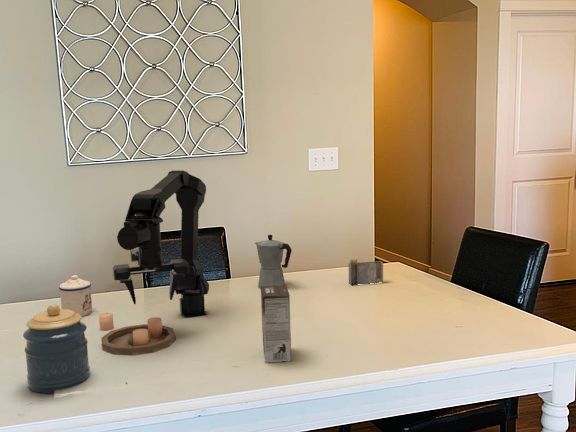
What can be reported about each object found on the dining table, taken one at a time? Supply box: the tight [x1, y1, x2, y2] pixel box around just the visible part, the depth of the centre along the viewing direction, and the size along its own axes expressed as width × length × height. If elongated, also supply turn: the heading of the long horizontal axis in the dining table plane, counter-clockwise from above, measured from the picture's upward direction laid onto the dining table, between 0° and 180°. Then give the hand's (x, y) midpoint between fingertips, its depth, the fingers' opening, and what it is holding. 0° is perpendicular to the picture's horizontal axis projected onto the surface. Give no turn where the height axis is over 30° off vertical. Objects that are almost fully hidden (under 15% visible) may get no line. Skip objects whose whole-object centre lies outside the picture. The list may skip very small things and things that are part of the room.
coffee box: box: [260, 284, 292, 364], centre depth 150 cm, size 9×6×16 cm
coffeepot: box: [254, 234, 293, 290], centre depth 212 cm, size 15×9×18 cm, turn 51°
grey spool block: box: [348, 258, 384, 286], centre depth 213 cm, size 11×3×10 cm, turn 99°
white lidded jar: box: [58, 274, 93, 317], centre depth 190 cm, size 12×9×12 cm
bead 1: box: [98, 312, 115, 331], centre depth 172 cm, size 4×4×4 cm
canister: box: [22, 303, 91, 394], centre depth 137 cm, size 13×13×18 cm
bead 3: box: [146, 316, 163, 338], centre depth 164 cm, size 4×4×4 cm
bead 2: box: [133, 329, 149, 346], centre depth 155 cm, size 4×4×4 cm
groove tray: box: [101, 323, 177, 356], centre depth 160 cm, size 18×18×3 cm
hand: (153, 301), depth 163 cm, fingers open, 9 cm apart
